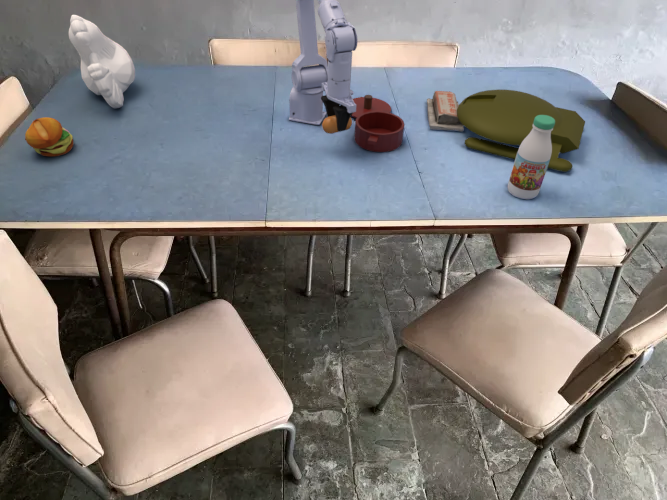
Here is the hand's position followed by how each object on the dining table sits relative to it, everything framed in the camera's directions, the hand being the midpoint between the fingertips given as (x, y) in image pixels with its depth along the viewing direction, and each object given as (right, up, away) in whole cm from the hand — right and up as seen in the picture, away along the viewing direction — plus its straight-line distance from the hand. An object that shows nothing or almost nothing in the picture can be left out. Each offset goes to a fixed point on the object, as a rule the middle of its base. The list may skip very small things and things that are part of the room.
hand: (337, 126), depth 145 cm
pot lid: (+9, +10, +23) cm, 27 cm away
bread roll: (0, -1, +1) cm, 1 cm away
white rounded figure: (-70, +14, +24) cm, 75 cm away
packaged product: (+33, +8, +22) cm, 40 cm away
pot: (+12, -1, +10) cm, 15 cm away
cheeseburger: (-75, -6, 0) cm, 75 cm away
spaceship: (+52, +1, +15) cm, 54 cm away
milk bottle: (+47, -18, -7) cm, 50 cm away
